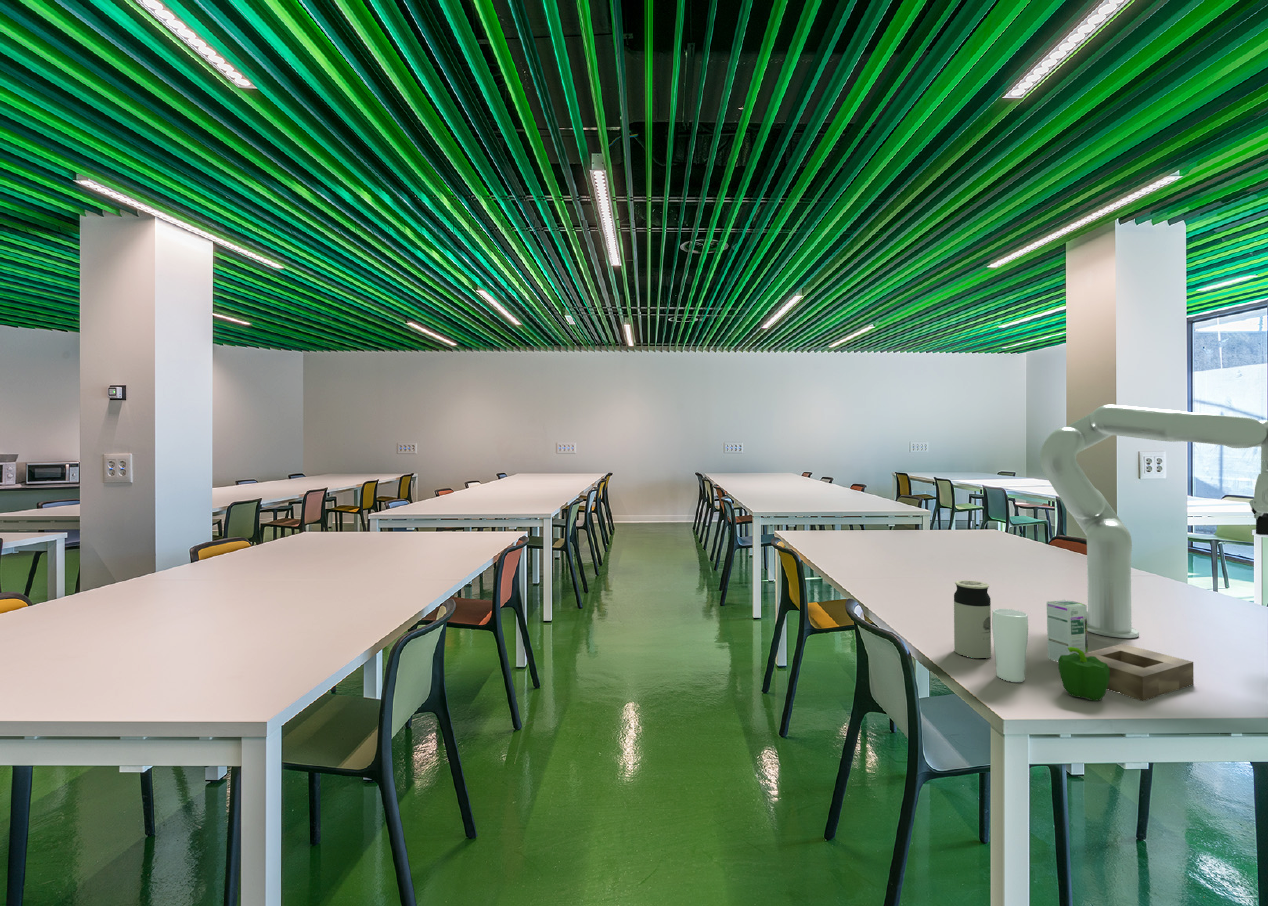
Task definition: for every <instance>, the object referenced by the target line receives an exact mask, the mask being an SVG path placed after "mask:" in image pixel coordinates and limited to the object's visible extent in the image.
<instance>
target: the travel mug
mask: <svg viewBox="0 0 1268 906" xmlns="http://www.w3.org/2000/svg"><path fill="white" fill-rule="evenodd" d="M954 584H955V585H956V590H955V592H954V594H953V626H954V627H953V628H954V629H953V632H954V633H953V634H954V635H953V636H954V638H953V640H954V641H953V642H954V643H953V645H954V646H953V647H954V648H953V650H954V652H955V653H957V654H958V655H959V656H961V655H963V656H962V657H964V656H968V657H972V658H971V659H974V658H986V659H989V658H991V657H990V656H992V641H991V640H992V634H991V632H992V624H991V623H992V621H991V620H992V617H991V615H992V614H991V613H992V612H991V611H992V610H991V608H992V607H991V596H990V595H989V593H988V589H989V588H990V584H988V583H986V582H983V581H977V580H968V579H966V580H965V579H964V580H963V579H962V580H956V581H954ZM968 657H967V658H968Z"/></svg>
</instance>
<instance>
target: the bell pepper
mask: <svg viewBox="0 0 1268 906" xmlns="http://www.w3.org/2000/svg"><path fill="white" fill-rule="evenodd" d="M1068 650H1069V651H1070V652H1073V651H1074V652H1077V653H1078V654H1076V653H1073V654H1070V655H1061V656H1060V658H1059V660H1058V662H1057V663H1058V665H1057V666H1058V672H1059V676H1060V679H1061V683H1062V685H1063V688H1064V690H1065V691H1066V693H1067V694H1068V695H1069V696H1072V697H1077V698H1084V699H1087V700H1090V701H1100V700H1102V698H1103V697H1105V695H1106V692H1107V691H1108V690H1107V687H1108V683H1109V679H1110V669H1109V667H1108V665H1107V664H1106V663H1103V662H1101V661H1100V660H1099V659H1097V658H1096V657H1095V656H1089V657H1085V654H1084V652H1083V651H1081V650H1080V649H1078V648H1075V647H1068Z"/></svg>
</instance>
